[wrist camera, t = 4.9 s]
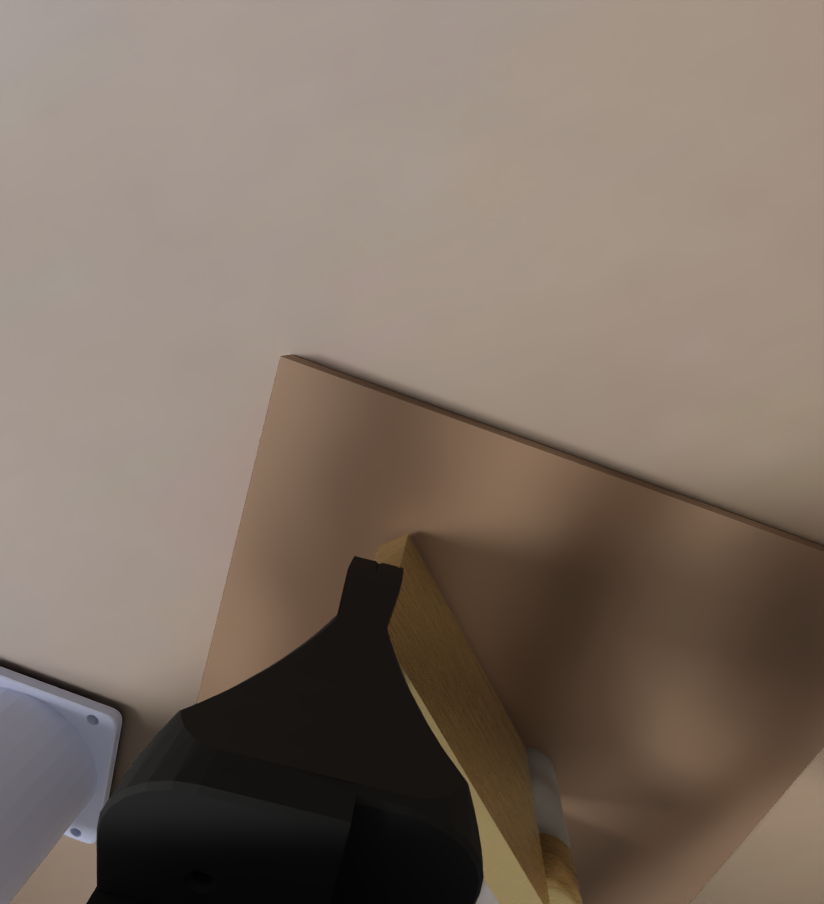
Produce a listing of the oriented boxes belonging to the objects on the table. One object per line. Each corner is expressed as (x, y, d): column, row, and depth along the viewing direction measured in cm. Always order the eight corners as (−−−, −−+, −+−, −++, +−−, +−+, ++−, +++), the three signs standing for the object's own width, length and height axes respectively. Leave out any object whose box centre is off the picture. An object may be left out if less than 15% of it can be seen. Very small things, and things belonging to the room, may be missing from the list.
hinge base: (173, 827, 20) (65, 1015, 14) (290, 354, 13) (173, 373, 8) (593, 982, 19) (643, 1232, 14) (922, 581, 13) (1248, 761, 8)
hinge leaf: (511, 804, 16) (530, 985, 11) (365, 551, 13) (320, 656, 9) (564, 790, 15) (605, 974, 11) (422, 527, 13) (403, 625, 9)
